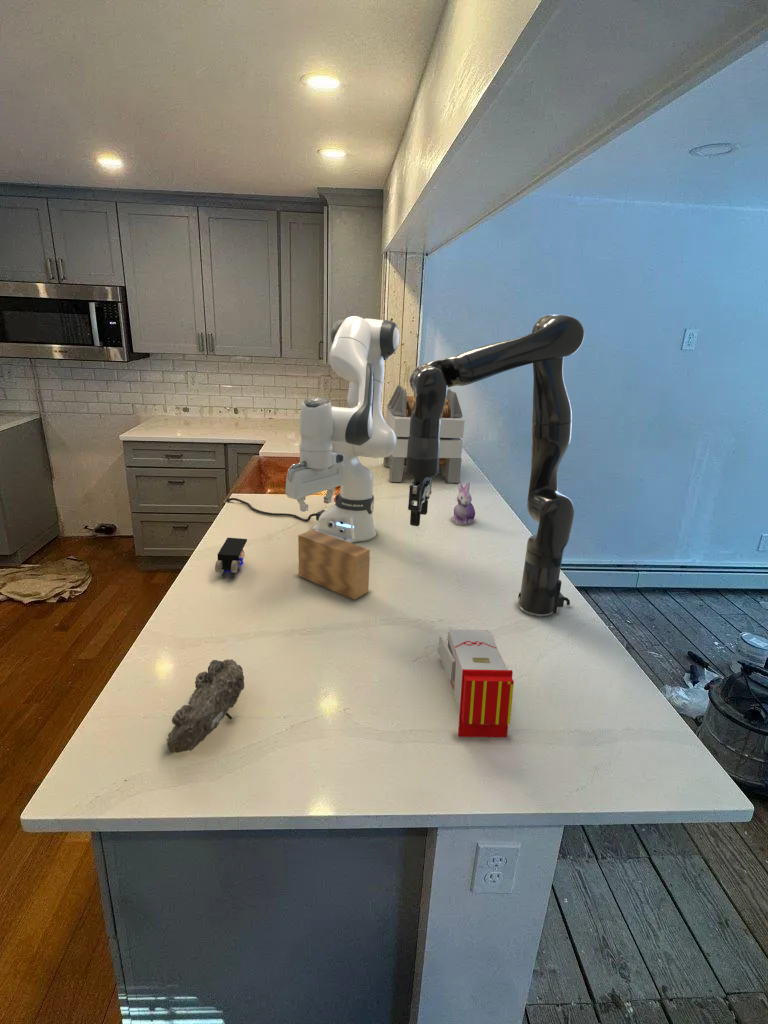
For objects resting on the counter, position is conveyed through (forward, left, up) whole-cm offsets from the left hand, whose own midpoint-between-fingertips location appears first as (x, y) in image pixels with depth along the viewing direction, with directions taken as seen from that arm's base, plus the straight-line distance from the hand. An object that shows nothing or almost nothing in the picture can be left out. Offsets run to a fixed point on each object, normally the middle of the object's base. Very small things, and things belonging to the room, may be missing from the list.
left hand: (316, 506), depth 158 cm
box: (+6, -2, -22) cm, 23 cm away
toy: (+50, -38, -22) cm, 67 cm away
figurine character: (-25, -4, -22) cm, 33 cm away
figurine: (+34, +63, -22) cm, 75 cm away
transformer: (+4, +122, -22) cm, 124 cm away
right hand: (+32, -13, +5) cm, 35 cm away
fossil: (+4, -62, -22) cm, 66 cm away
